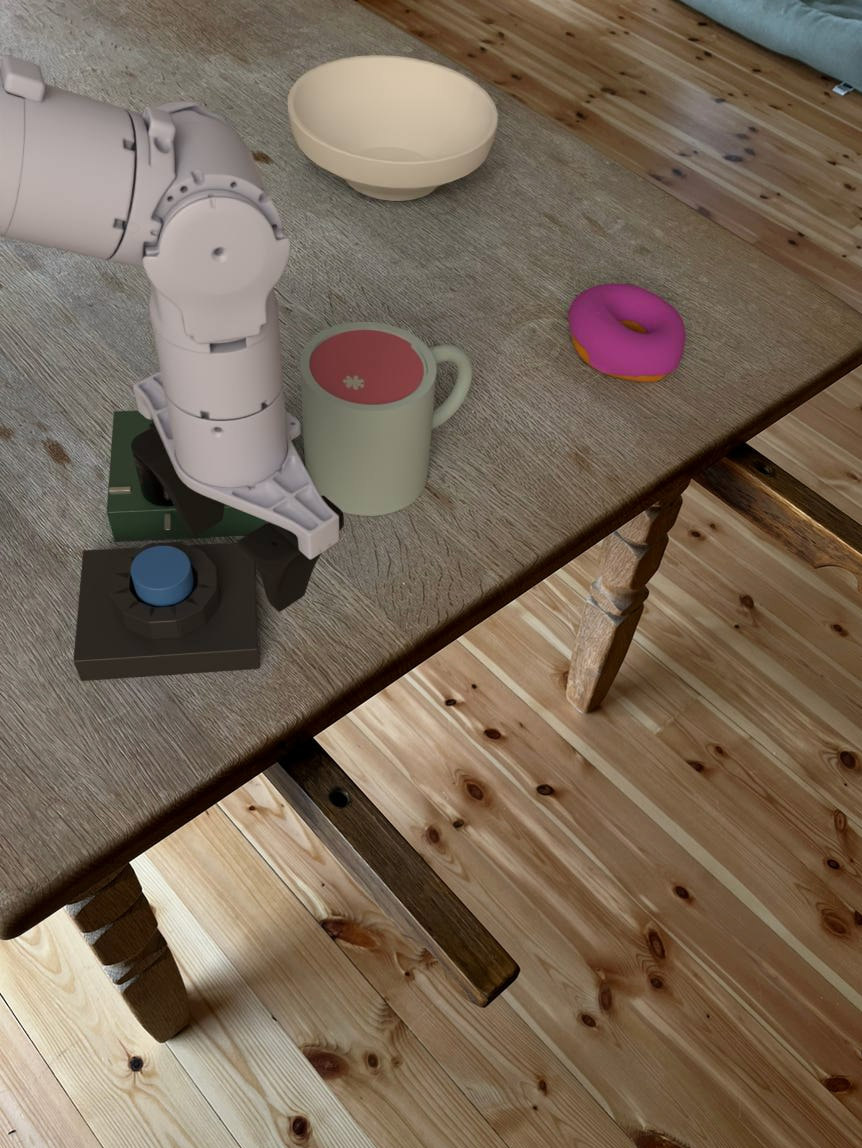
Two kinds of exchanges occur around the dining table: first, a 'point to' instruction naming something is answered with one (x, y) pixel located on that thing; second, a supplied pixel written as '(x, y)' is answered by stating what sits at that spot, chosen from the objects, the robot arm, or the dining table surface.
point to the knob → (151, 485)
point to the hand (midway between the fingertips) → (246, 561)
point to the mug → (373, 413)
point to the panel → (141, 517)
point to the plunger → (162, 575)
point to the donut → (627, 332)
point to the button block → (167, 616)
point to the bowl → (392, 123)
